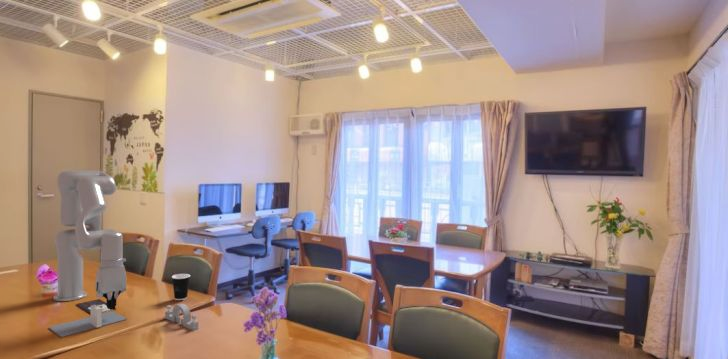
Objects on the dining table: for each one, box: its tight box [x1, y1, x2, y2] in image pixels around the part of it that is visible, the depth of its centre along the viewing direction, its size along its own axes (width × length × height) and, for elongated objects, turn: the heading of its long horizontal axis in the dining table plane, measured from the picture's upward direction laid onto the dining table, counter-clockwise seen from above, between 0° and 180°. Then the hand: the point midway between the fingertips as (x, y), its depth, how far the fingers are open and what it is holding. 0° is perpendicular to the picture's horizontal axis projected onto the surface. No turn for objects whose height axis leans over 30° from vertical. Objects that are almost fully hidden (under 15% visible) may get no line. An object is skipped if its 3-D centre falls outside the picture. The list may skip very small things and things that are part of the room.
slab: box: [89, 305, 103, 328], centre depth 156 cm, size 7×2×6 cm
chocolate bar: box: [75, 298, 117, 315], centre depth 176 cm, size 9×1×18 cm
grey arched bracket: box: [164, 303, 199, 331], centre depth 161 cm, size 20×2×8 cm, turn 55°
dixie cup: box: [171, 273, 191, 301], centre depth 189 cm, size 8×8×11 cm
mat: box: [48, 310, 128, 338], centre depth 158 cm, size 13×22×1 cm, turn 144°
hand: (111, 308), depth 164 cm, fingers closed
